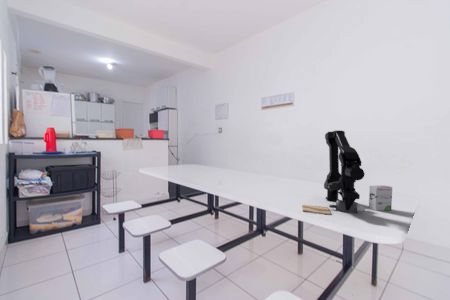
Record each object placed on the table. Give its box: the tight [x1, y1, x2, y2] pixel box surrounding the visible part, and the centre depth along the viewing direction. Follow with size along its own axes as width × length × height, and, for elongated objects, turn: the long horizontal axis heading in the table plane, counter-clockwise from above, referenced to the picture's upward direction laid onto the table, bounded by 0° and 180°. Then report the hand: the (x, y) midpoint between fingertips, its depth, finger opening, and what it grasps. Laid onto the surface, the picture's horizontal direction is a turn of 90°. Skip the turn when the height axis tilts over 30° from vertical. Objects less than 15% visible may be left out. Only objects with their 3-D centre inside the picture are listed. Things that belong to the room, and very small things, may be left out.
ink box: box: [368, 185, 393, 212], centre depth 107 cm, size 9×5×12 cm, turn 96°
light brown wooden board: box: [301, 204, 332, 216], centre depth 104 cm, size 10×12×1 cm
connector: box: [328, 199, 366, 214], centre depth 103 cm, size 4×15×4 cm, turn 72°
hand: (346, 208), depth 103 cm, fingers closed on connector, 4 cm apart
